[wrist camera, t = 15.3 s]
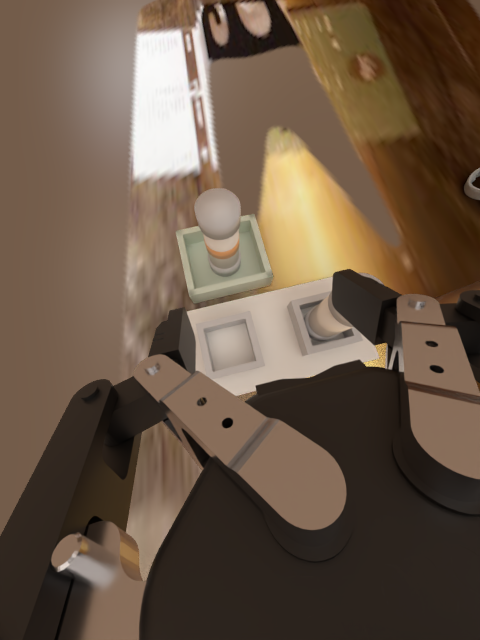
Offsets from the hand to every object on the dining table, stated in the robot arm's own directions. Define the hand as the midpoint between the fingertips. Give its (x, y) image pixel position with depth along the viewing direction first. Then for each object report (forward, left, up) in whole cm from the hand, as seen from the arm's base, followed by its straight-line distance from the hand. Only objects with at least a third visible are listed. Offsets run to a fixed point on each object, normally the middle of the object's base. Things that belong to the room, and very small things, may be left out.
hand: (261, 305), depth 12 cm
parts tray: (0, -12, -19) cm, 22 cm away
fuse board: (-4, 0, -19) cm, 19 cm away
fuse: (-10, 0, -18) cm, 20 cm away
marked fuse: (0, -12, -18) cm, 22 cm away
